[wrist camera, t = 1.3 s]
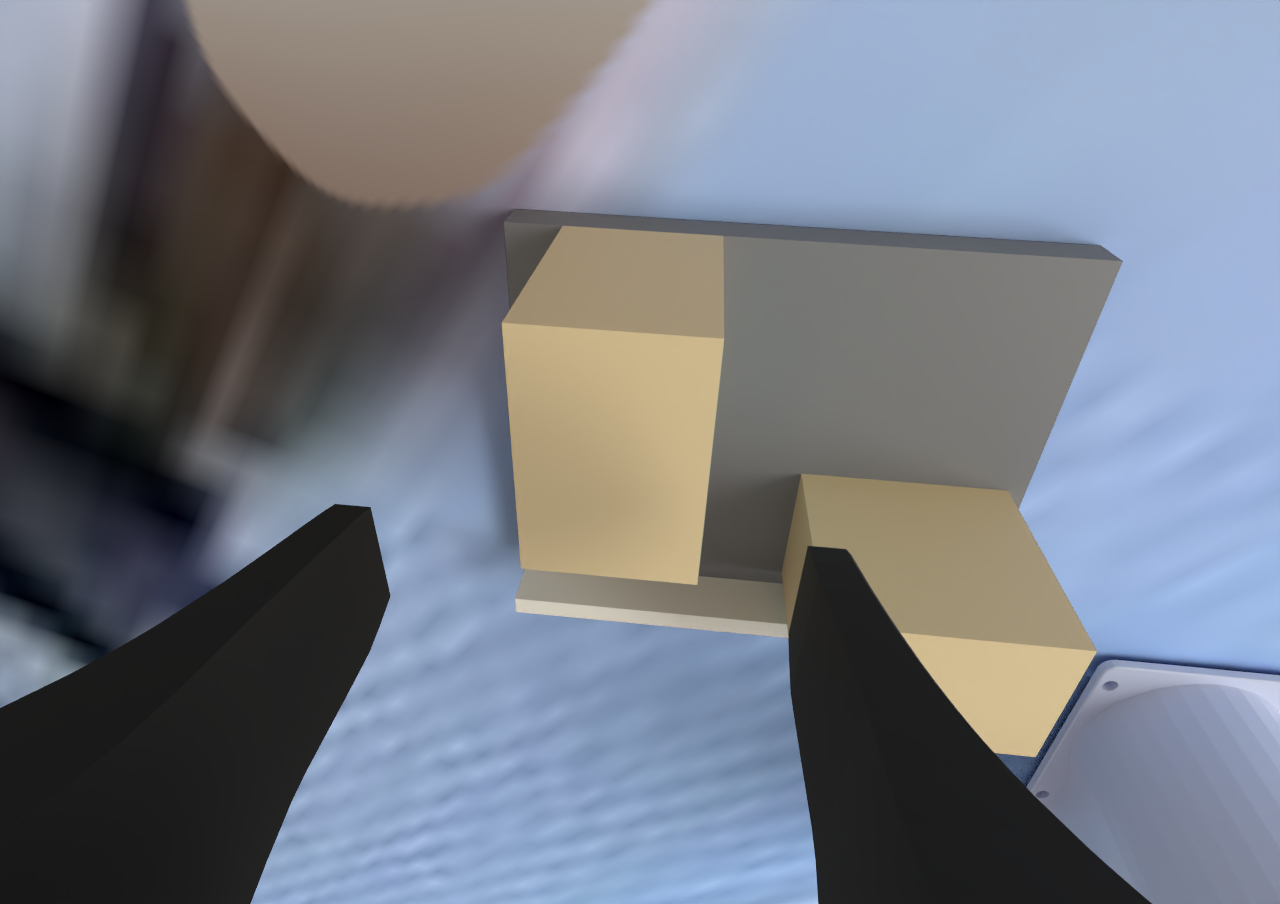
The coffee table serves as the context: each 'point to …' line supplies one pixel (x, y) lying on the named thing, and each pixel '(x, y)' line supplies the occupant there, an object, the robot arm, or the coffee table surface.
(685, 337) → the carton
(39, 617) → the coffee table surface
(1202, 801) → the robot arm
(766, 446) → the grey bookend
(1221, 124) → the coffee table surface
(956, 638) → the carton faced
